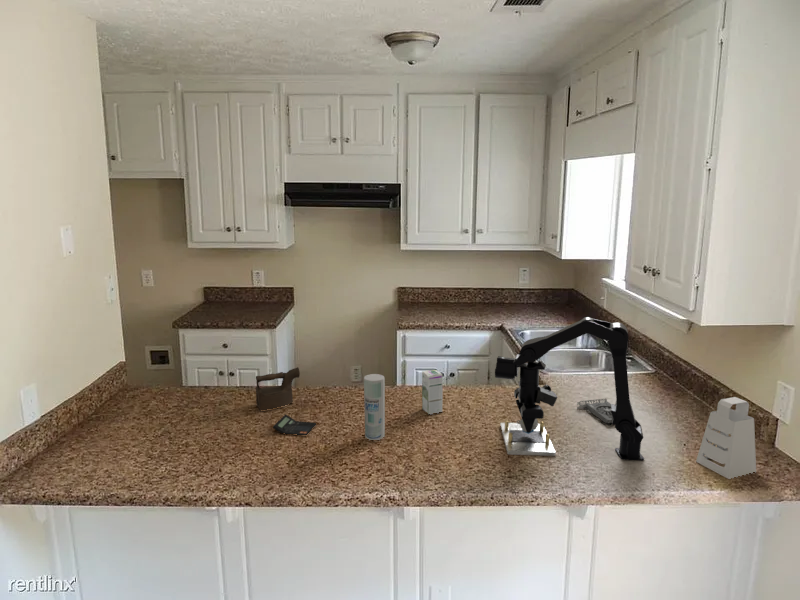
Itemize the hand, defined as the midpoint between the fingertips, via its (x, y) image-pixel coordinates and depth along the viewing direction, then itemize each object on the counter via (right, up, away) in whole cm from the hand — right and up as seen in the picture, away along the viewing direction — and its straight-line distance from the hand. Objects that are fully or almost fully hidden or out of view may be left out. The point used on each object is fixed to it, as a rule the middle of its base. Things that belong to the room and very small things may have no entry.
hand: (527, 428), depth 168 cm
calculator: (-75, -3, +9) cm, 75 cm away
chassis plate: (0, -4, +1) cm, 4 cm away
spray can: (-48, -4, +3) cm, 48 cm away
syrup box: (-29, 0, +24) cm, 37 cm away
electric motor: (0, -1, 0) cm, 1 cm away
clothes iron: (-85, +1, +29) cm, 90 cm away
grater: (+53, -7, -16) cm, 56 cm away
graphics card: (+31, -1, +19) cm, 37 cm away
